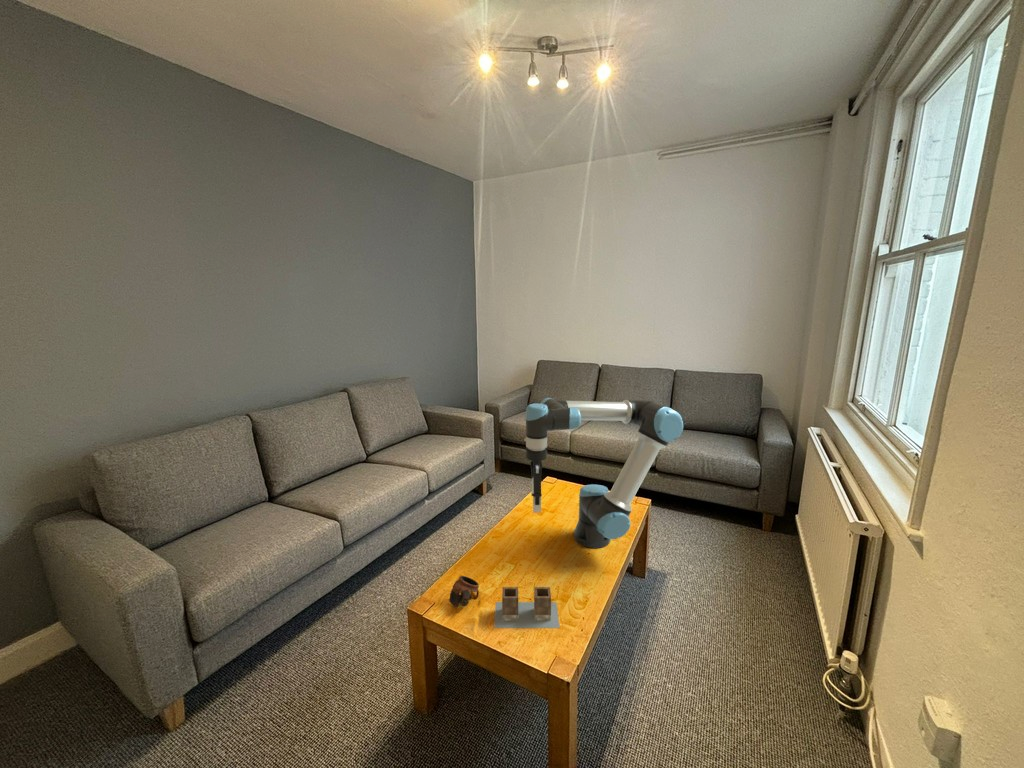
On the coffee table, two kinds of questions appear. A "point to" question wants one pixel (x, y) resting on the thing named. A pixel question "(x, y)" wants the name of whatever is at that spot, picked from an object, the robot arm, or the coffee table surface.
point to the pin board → (526, 617)
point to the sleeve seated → (542, 603)
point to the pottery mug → (463, 591)
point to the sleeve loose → (510, 604)
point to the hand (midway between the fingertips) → (535, 502)
